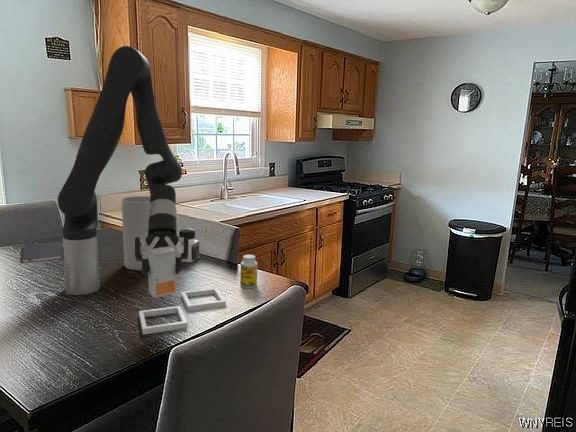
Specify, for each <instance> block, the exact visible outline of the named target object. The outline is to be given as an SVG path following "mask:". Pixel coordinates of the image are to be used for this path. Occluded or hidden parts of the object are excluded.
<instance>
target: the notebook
mask: <svg viewBox="0 0 576 432" xmlns="http://www.w3.org/2000/svg"><path fill="white" fill-rule="evenodd" d="M60 246H61V245H60V242H59V241H55V242H47V243H46V242H45V243H43V242H42V243H34V244H33V243H32V244H25V245H24V244H23V247H22V259H21V260H22V263H28V262H29V263H31V262H38V261H39V262H40V261H49V260H58V259H62V258H63V256H62V250H61V247H60Z"/></svg>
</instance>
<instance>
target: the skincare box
mask: <svg viewBox="0 0 576 432" xmlns="http://www.w3.org/2000/svg"><path fill="white" fill-rule="evenodd" d="M176 276H177V274H176V256H175V250H174V249H173V248H171V247H161V248H156V249H148V276H147V277H148V293H149V294H150V295H151V296H152V297H153V298H159V297H164V296H170V295H174V294H177V279H176V278H177V277H176Z"/></svg>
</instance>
